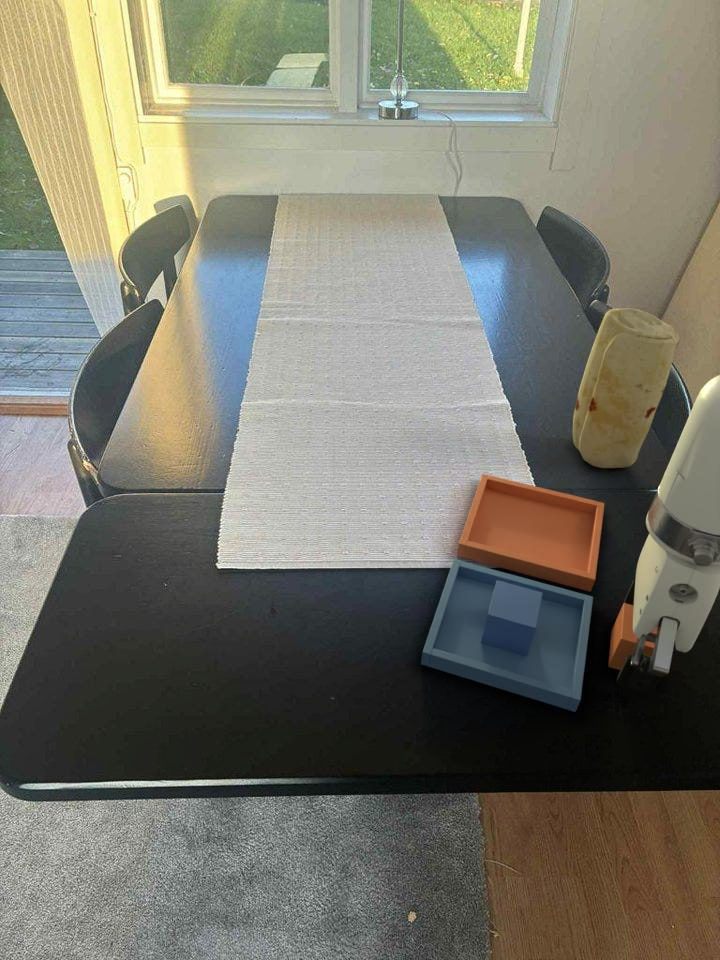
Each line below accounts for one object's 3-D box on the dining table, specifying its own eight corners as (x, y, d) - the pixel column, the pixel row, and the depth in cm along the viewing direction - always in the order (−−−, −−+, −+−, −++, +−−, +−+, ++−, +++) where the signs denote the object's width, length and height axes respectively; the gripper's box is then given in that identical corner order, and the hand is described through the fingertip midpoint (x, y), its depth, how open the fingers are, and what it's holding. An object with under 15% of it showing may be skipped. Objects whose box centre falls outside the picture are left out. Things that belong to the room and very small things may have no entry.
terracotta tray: (600, 515, 83) (604, 502, 82) (590, 592, 74) (595, 579, 73) (480, 485, 87) (482, 473, 85) (456, 555, 78) (458, 543, 76)
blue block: (533, 621, 70) (542, 592, 68) (526, 656, 67) (535, 628, 64) (489, 608, 72) (496, 579, 69) (480, 643, 68) (487, 614, 65)
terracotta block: (657, 644, 69) (672, 615, 67) (656, 681, 66) (672, 653, 63) (611, 630, 70) (623, 602, 68) (608, 666, 67) (621, 638, 64)
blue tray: (588, 609, 73) (593, 596, 71) (575, 712, 63) (580, 700, 62) (451, 571, 76) (453, 558, 75) (420, 664, 67) (422, 651, 66)
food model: (643, 460, 91) (697, 322, 78) (619, 484, 88) (671, 343, 75) (577, 428, 96) (617, 293, 83) (552, 449, 93) (589, 312, 79)
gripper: (758, 613, 49) (676, 739, 61) (742, 465, 62) (676, 592, 73) (647, 584, 51) (588, 711, 62) (654, 446, 63) (603, 573, 75)
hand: (636, 647), depth 68 cm, fingers open, 8 cm apart
